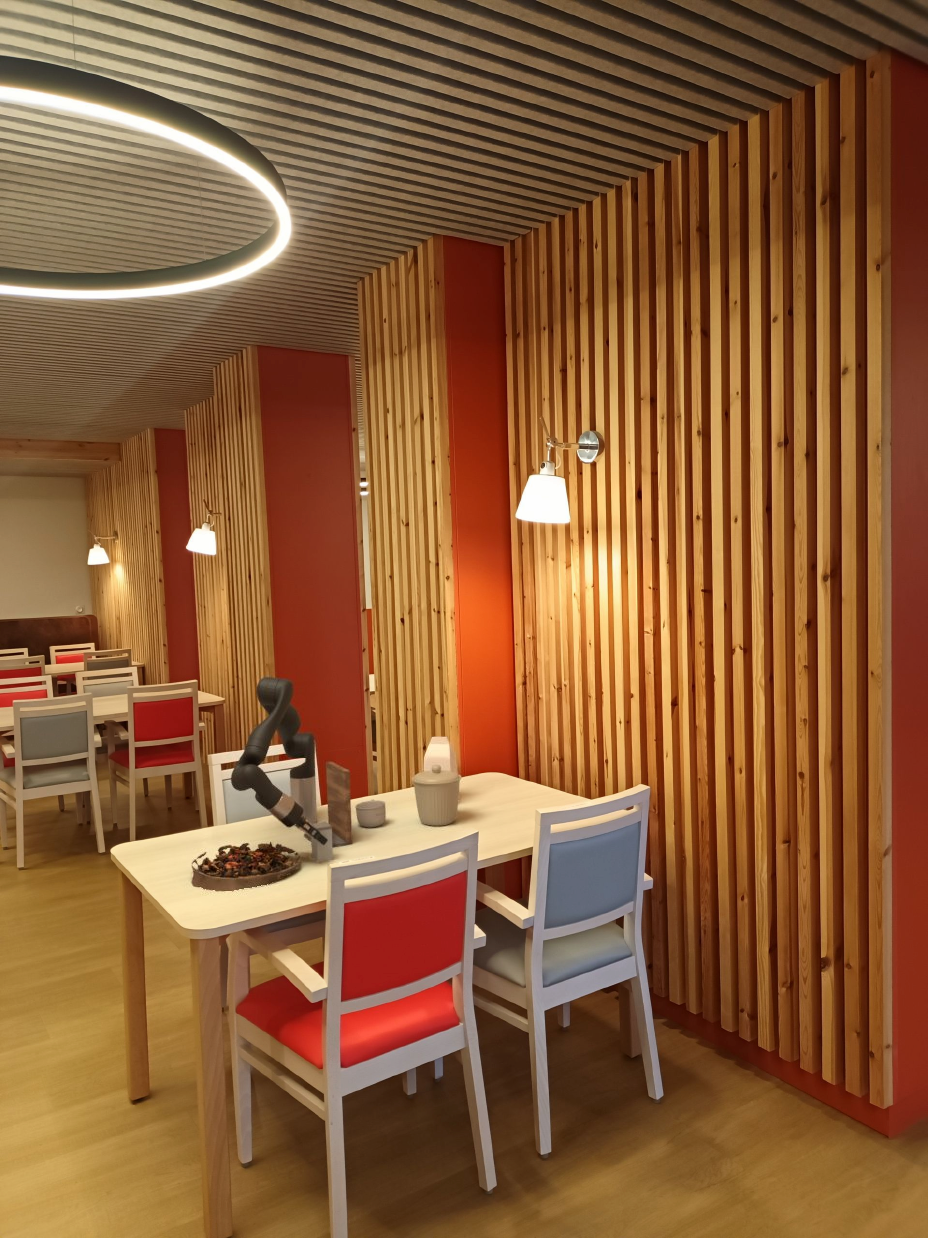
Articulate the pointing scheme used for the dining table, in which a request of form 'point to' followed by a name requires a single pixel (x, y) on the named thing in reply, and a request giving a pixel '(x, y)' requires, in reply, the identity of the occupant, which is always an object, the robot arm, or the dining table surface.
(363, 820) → the teacup
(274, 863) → the food dish
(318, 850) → the grey box
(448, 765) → the milk
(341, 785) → the wall board
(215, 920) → the dining table surface
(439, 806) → the canister
